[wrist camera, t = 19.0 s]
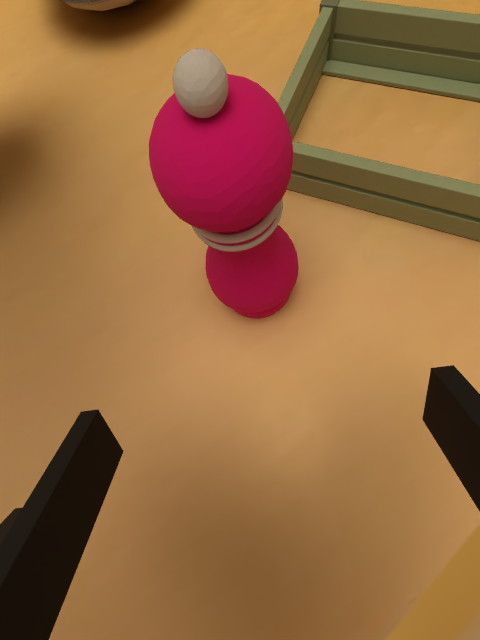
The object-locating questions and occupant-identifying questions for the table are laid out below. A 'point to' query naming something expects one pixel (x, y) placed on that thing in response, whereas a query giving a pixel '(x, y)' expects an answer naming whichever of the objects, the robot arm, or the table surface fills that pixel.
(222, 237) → the pepper mill
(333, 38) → the crate
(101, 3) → the ramen bowl
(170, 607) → the table surface
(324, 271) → the table surface
